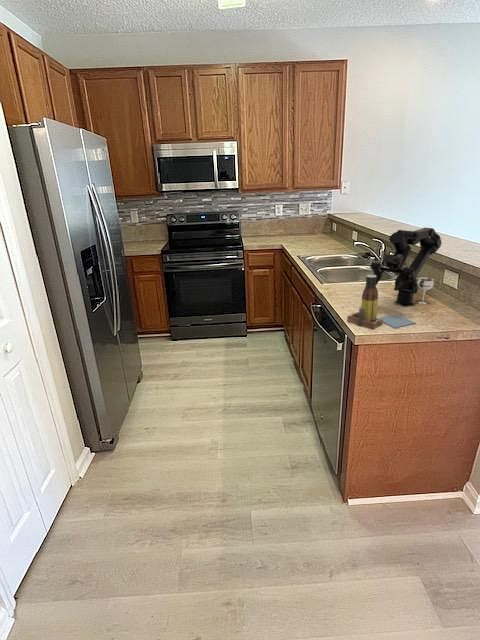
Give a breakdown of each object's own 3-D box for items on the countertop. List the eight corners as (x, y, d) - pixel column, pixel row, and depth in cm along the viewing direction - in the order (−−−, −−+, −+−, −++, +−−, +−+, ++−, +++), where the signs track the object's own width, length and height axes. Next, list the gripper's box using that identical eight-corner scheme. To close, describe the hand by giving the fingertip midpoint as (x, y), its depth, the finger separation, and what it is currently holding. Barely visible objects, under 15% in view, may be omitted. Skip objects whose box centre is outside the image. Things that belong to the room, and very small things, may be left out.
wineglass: (432, 306, 169) (436, 281, 165) (416, 305, 171) (420, 281, 166) (428, 301, 175) (432, 277, 171) (412, 301, 177) (416, 276, 172)
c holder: (356, 317, 159) (358, 302, 156) (382, 324, 150) (384, 308, 148) (346, 322, 154) (347, 306, 152) (372, 330, 146) (374, 313, 143)
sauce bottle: (372, 318, 157) (377, 273, 149) (378, 324, 151) (383, 277, 144) (357, 319, 157) (361, 274, 149) (362, 324, 151) (367, 278, 144)
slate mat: (395, 315, 160) (395, 314, 159) (415, 323, 150) (415, 322, 150) (375, 319, 156) (375, 318, 156) (394, 328, 146) (395, 327, 146)
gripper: (373, 243, 158) (357, 274, 156) (417, 248, 145) (400, 282, 143) (381, 257, 166) (366, 287, 164) (423, 263, 153) (407, 296, 151)
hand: (384, 287), depth 155 cm, fingers open, 9 cm apart
